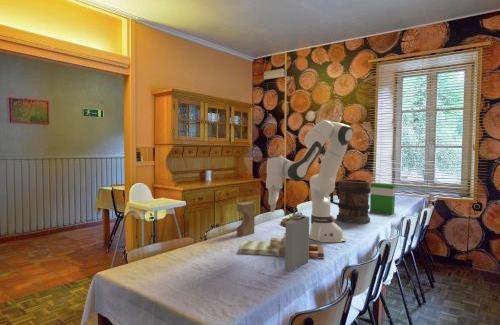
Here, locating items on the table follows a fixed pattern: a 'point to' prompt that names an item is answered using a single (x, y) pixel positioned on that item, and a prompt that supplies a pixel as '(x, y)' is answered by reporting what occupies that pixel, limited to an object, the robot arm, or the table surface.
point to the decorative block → (246, 218)
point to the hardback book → (382, 198)
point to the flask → (296, 242)
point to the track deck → (275, 249)
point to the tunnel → (284, 240)
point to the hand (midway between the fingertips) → (273, 210)
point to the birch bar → (276, 242)
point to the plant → (288, 218)
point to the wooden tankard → (352, 201)
